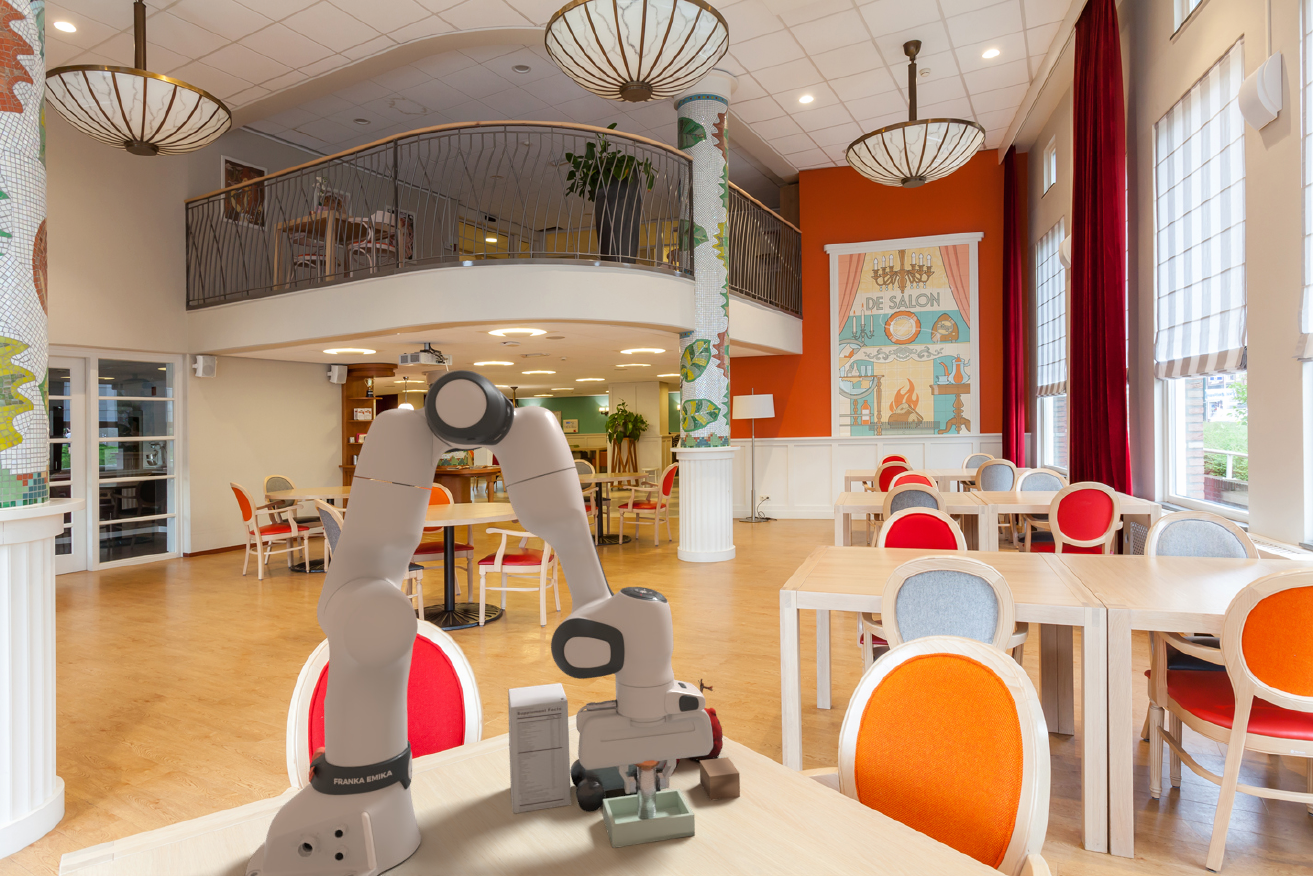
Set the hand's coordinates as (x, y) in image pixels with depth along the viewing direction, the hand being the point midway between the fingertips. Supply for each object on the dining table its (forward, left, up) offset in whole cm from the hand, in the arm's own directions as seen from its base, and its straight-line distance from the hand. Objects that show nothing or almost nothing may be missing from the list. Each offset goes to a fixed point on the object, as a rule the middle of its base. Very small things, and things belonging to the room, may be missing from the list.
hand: (646, 789), depth 107 cm
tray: (0, 0, -6) cm, 6 cm away
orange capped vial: (0, 0, -4) cm, 4 cm away
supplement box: (-15, +14, -6) cm, 21 cm away
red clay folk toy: (+15, +21, -6) cm, 27 cm away
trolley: (-3, +11, -6) cm, 13 cm away
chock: (+14, +8, -6) cm, 17 cm away
